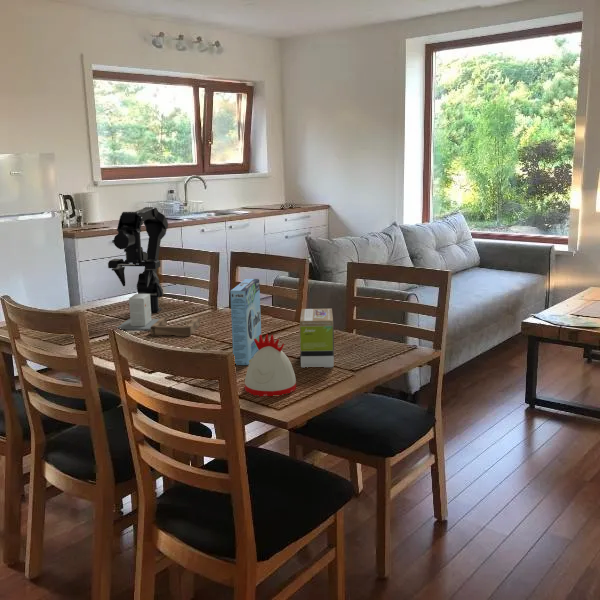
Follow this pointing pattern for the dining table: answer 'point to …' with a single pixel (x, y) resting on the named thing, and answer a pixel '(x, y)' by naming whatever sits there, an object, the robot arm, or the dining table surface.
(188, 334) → the walnut bay
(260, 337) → the kitchen timer
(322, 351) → the tea box
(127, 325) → the slate mat
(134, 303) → the small box
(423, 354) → the dining table surface
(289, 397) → the dining table surface
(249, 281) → the blue thin cardboard box
